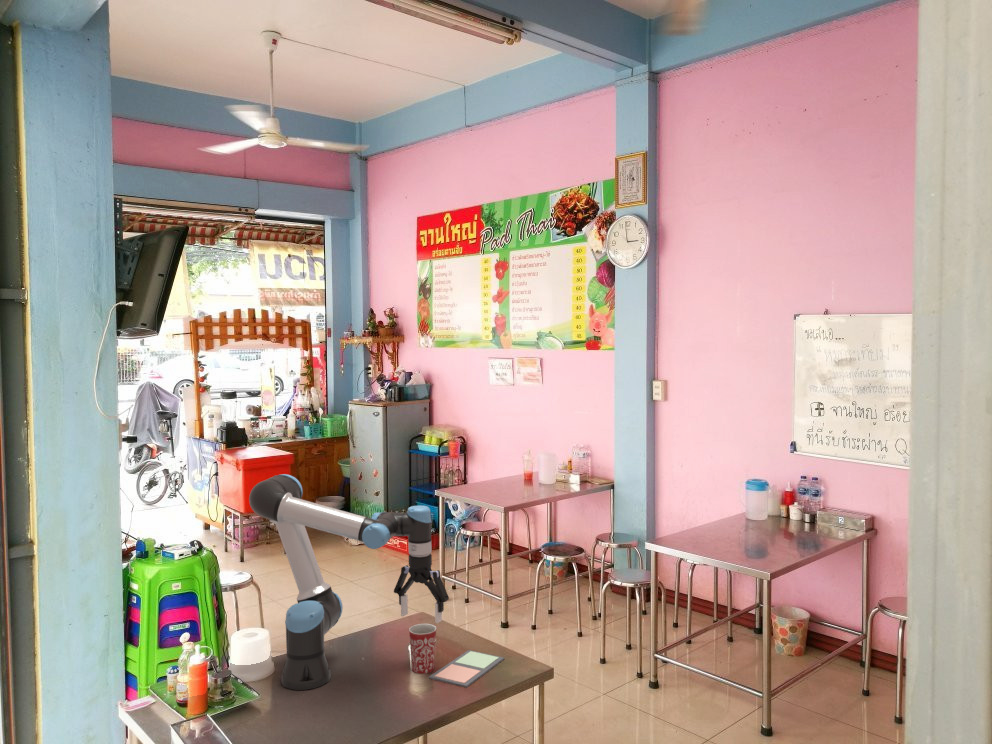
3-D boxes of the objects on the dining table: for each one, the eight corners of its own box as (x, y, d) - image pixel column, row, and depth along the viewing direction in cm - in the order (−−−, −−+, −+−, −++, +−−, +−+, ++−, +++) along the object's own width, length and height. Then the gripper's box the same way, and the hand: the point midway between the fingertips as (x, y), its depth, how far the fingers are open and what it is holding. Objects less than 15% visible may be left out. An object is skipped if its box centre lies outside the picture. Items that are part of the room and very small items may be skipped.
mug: (440, 672, 248) (440, 631, 247) (413, 677, 245) (412, 635, 244) (429, 657, 260) (428, 618, 259) (403, 662, 256) (402, 622, 256)
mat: (429, 678, 243) (429, 676, 243) (468, 651, 264) (468, 649, 264) (466, 687, 237) (466, 685, 237) (504, 659, 257) (504, 657, 257)
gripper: (382, 552, 254) (383, 615, 254) (445, 561, 241) (447, 628, 242) (396, 546, 260) (397, 608, 261) (458, 555, 248) (459, 620, 249)
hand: (421, 618), depth 251 cm, fingers open, 13 cm apart
